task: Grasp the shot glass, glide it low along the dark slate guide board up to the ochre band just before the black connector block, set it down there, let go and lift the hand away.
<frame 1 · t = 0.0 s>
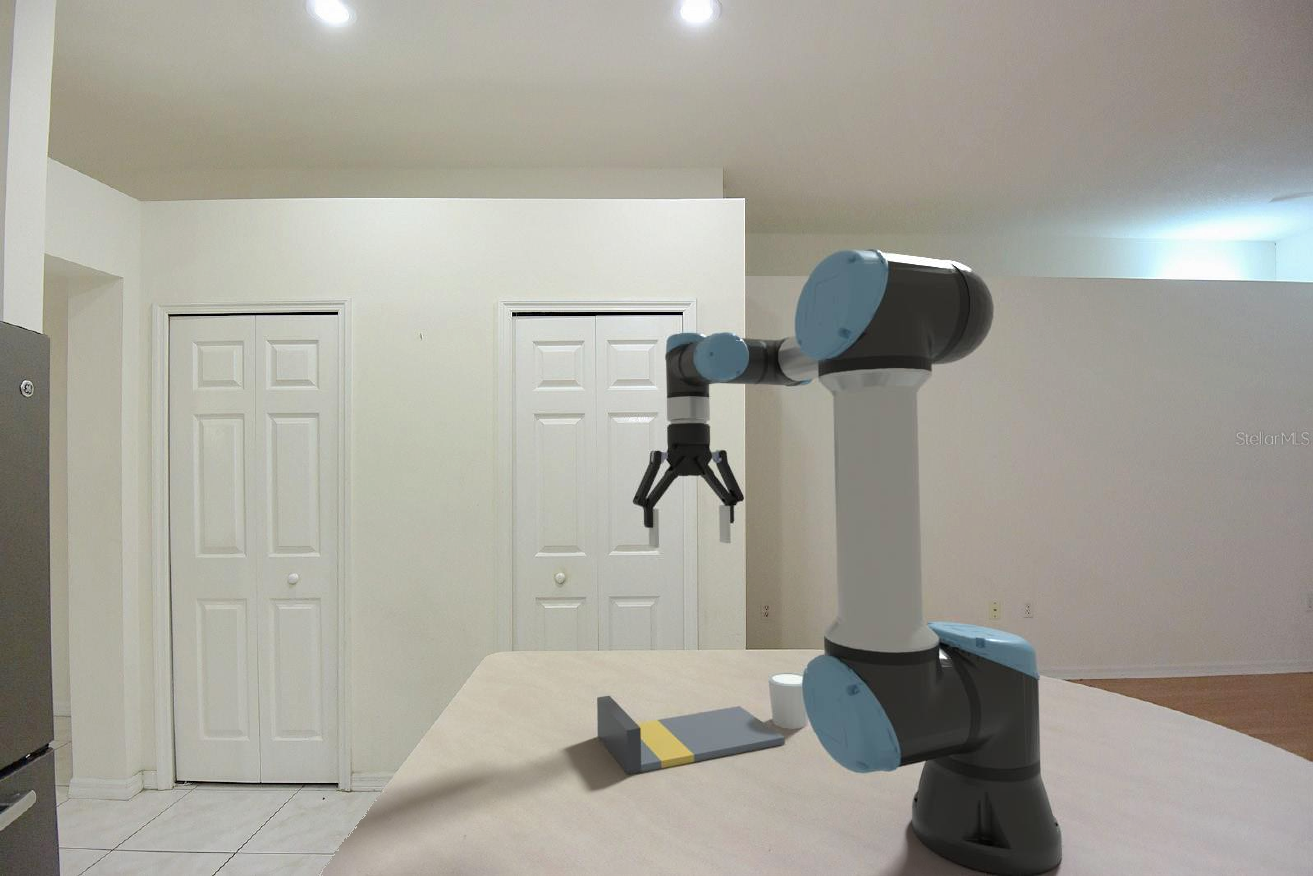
hand: (690, 544, 118), 28 cm above the counter, fingers open, 13 cm apart
guide: (689, 740, 103), on the counter
shot glass: (790, 723, 110), on the counter
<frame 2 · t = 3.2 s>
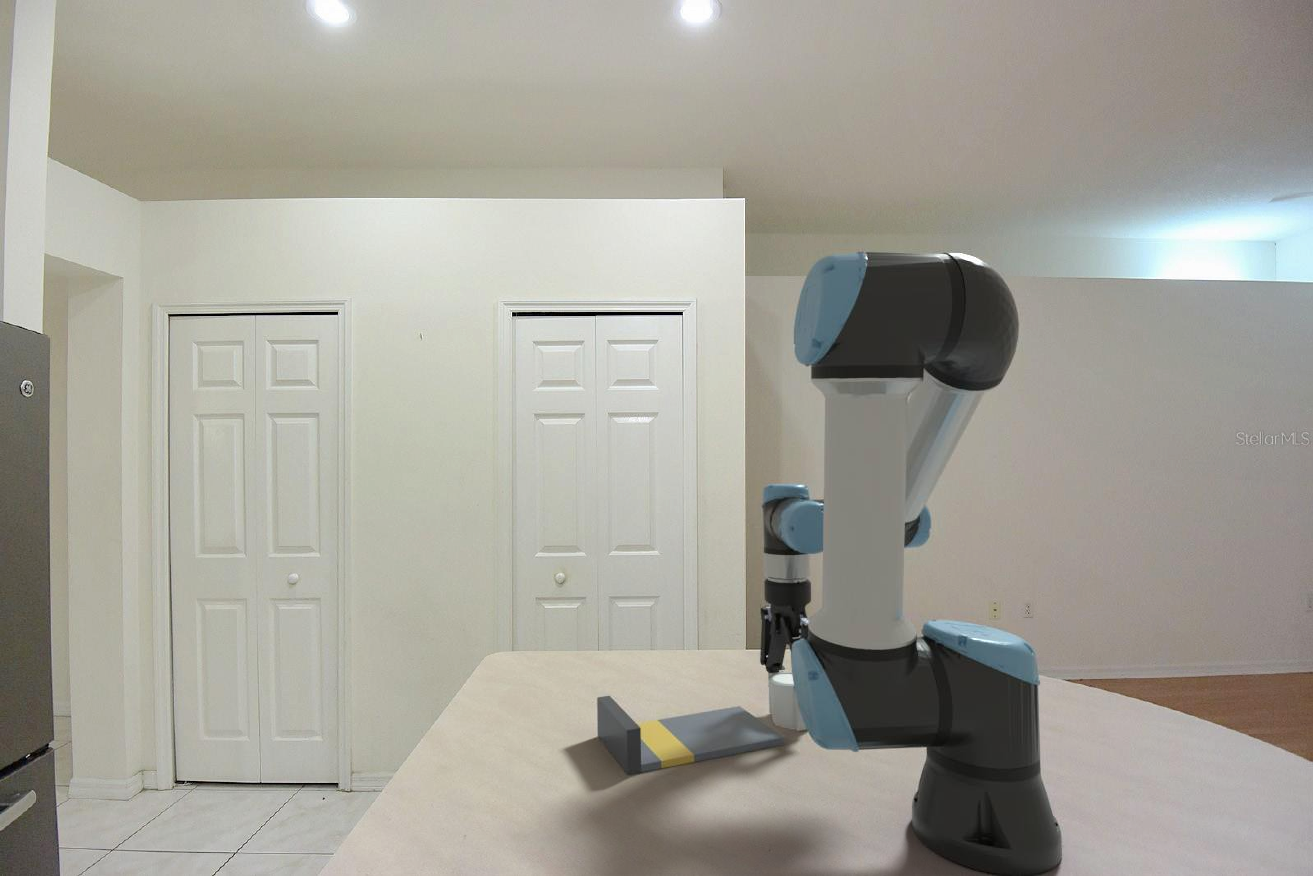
hand: (790, 720, 110), 0 cm above the counter, fingers open, 7 cm apart
shot glass: (790, 723, 110), on the counter, touching gripper
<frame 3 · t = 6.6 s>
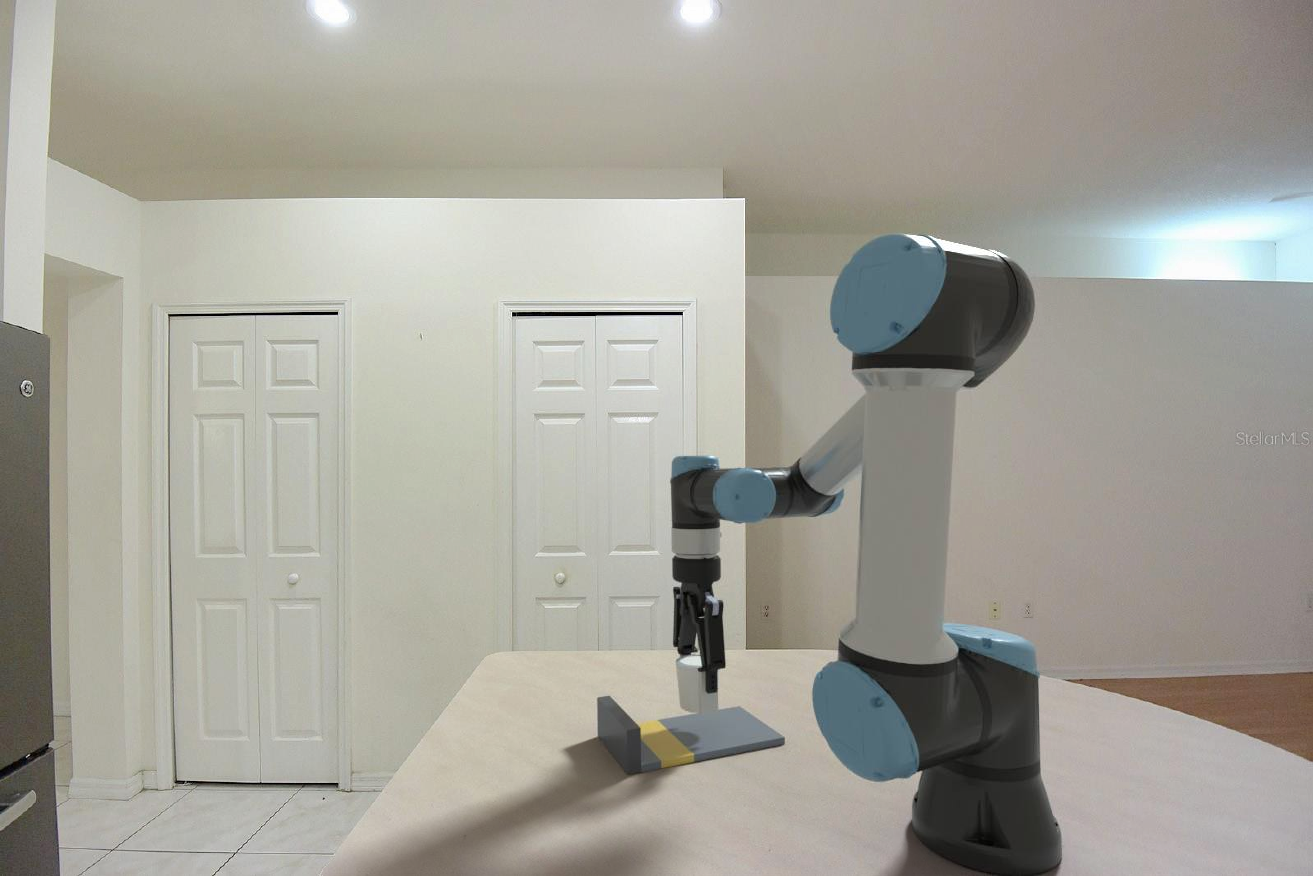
hand: (698, 704, 104), 5 cm above the counter, fingers closed on shot glass, 7 cm apart
shot glass: (698, 707, 104), point 5 cm above the counter, touching gripper
when the fingers open (2 cm above the counter, at t = 9.2 s): shot glass drops 1 cm, resting on guide.
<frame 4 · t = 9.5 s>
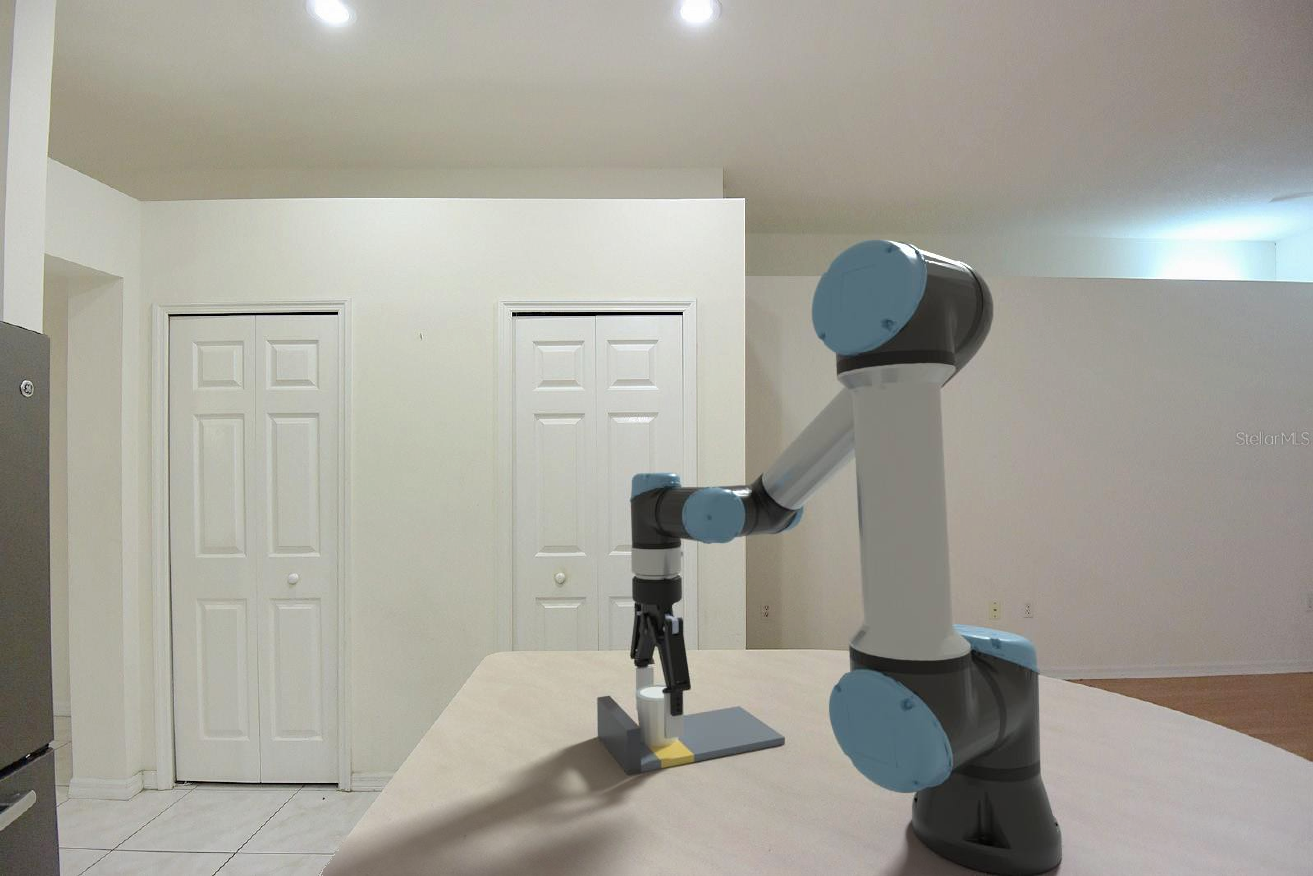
hand: (658, 722, 101), 3 cm above the counter, fingers open, 11 cm apart
shot glass: (658, 740, 101), point 1 cm above the counter, touching guide
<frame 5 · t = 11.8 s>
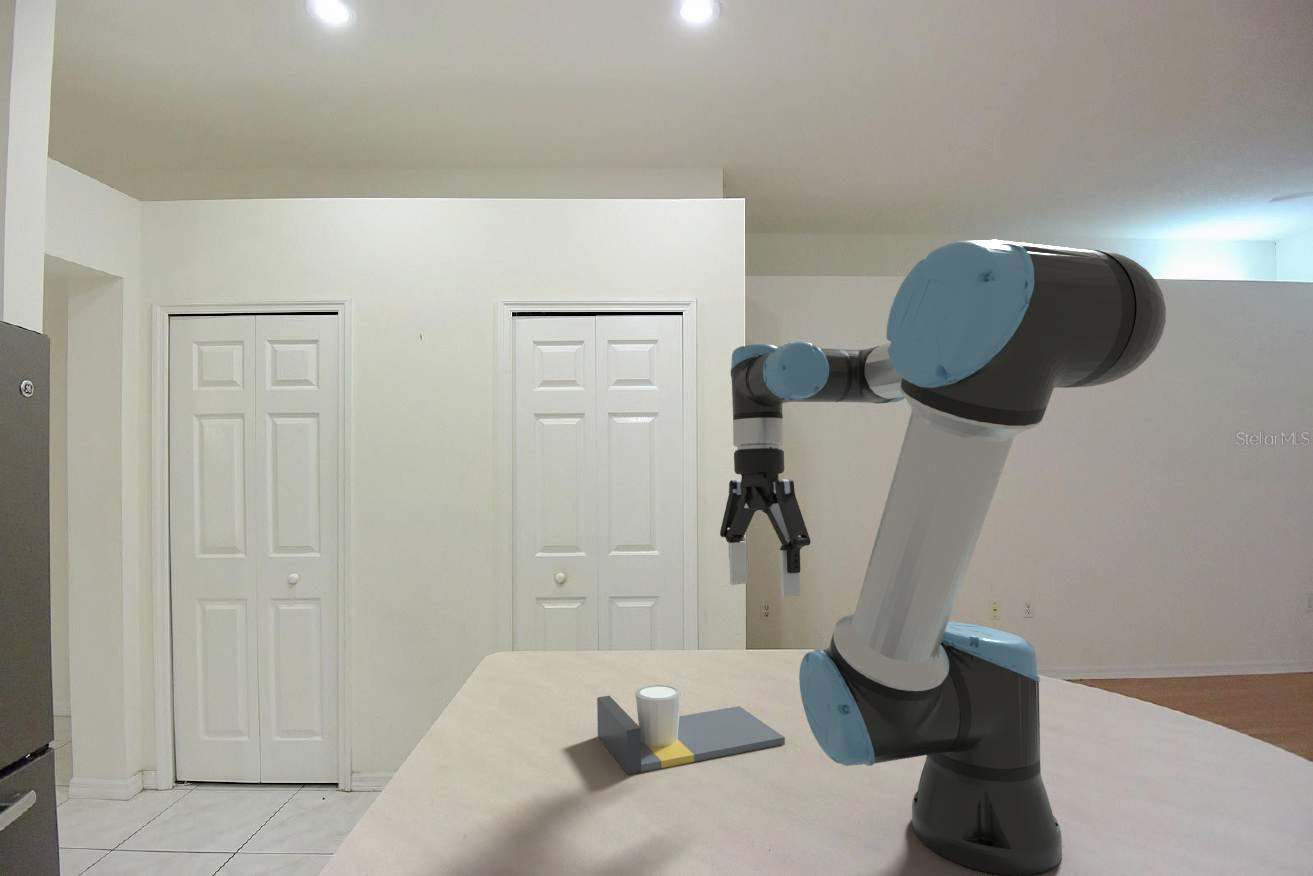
hand: (763, 590, 101), 23 cm above the counter, fingers open, 13 cm apart
nothing on the counter moved.
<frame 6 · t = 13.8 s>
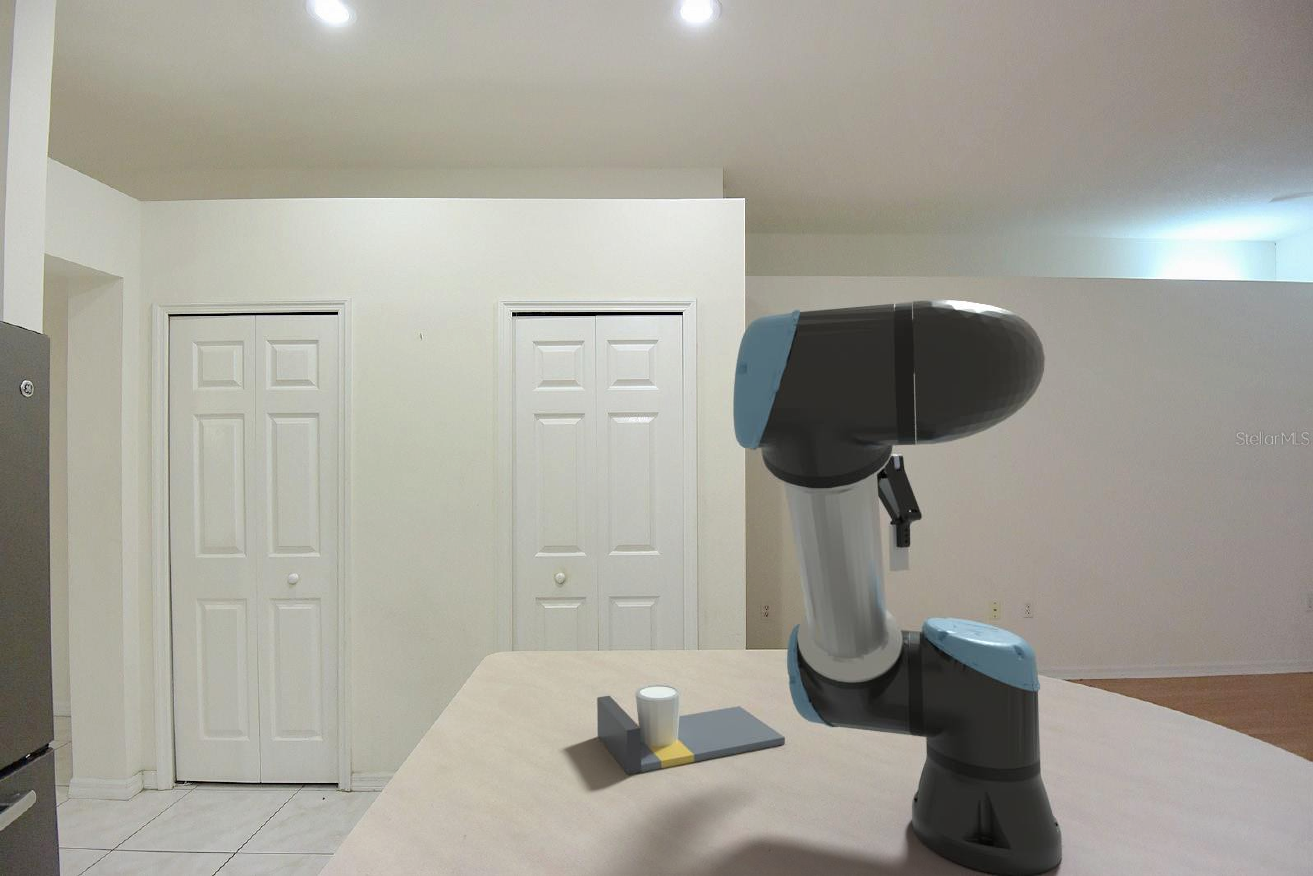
hand: (867, 564, 102), 27 cm above the counter, fingers open, 13 cm apart
nothing on the counter moved.
at the end: shot glass inside the target area on the guide (0.1 cm from its centre), point 0.8 cm above the guide's base; shot glass tilted 0°; the gripper is holding nothing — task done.
